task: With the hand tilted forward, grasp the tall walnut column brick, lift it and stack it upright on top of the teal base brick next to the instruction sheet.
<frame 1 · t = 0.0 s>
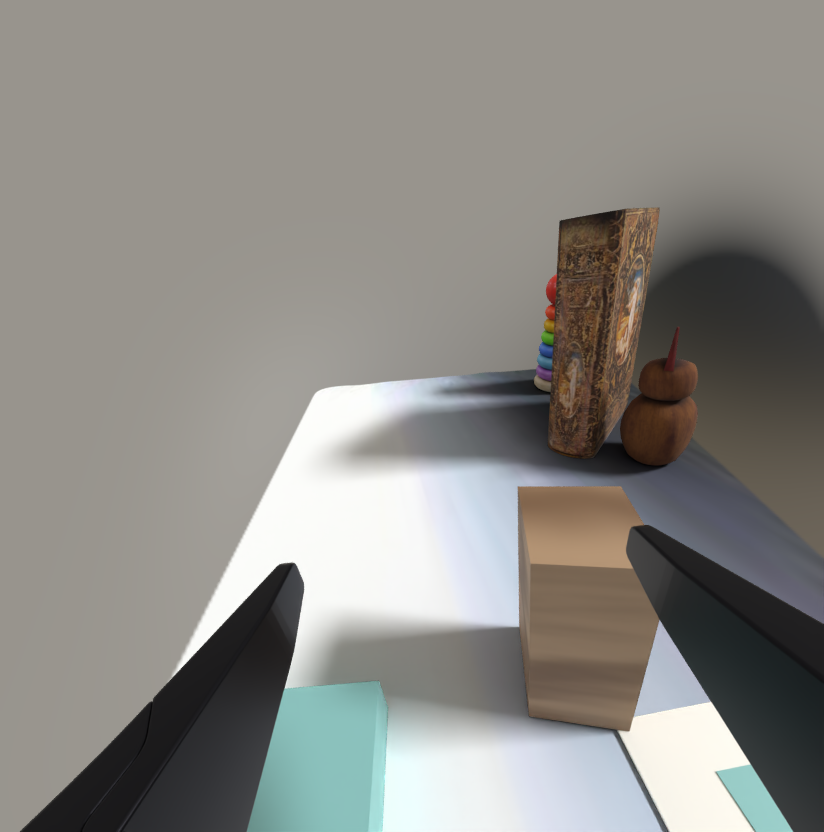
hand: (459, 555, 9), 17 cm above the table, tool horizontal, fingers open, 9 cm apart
book: (588, 427, 44), on the table
base brick: (303, 814, 16), on the table
wooden figurine: (650, 457, 37), on the table
column brick: (566, 671, 20), on the table, touching instruction sheet
stacking toy: (557, 386, 58), on the table
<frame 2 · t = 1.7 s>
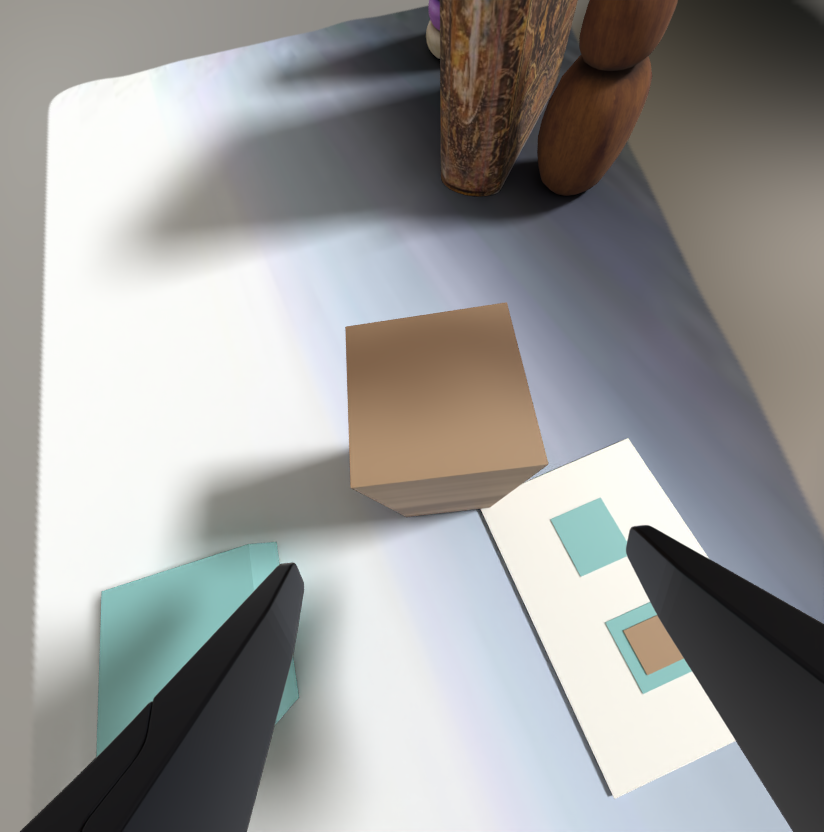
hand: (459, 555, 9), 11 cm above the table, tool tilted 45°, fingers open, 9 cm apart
book: (498, 135, 30), on the table
base brick: (219, 635, 18), on the table
wooden figurine: (567, 182, 28), on the table
column brick: (442, 470, 20), on the table, touching instruction sheet
instruction sheet: (620, 591, 17), on the table
stacking toy: (463, 47, 35), on the table
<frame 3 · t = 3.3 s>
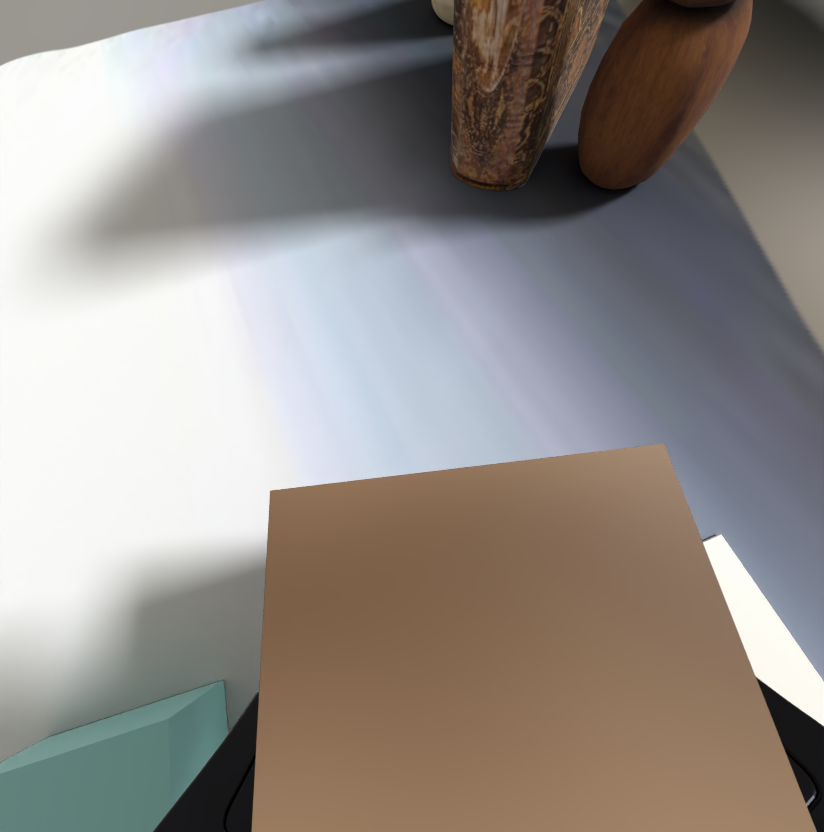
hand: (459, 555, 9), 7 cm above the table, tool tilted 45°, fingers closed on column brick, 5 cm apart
book: (521, 114, 24), on the table
base brick: (135, 831, 13), on the table
wooden figurine: (613, 172, 22), on the table
column brick: (457, 577, 14), on the table, touching gripper, instruction sheet
instruction sheet: (728, 783, 12), on the table
stacking toy: (475, 10, 29), on the table
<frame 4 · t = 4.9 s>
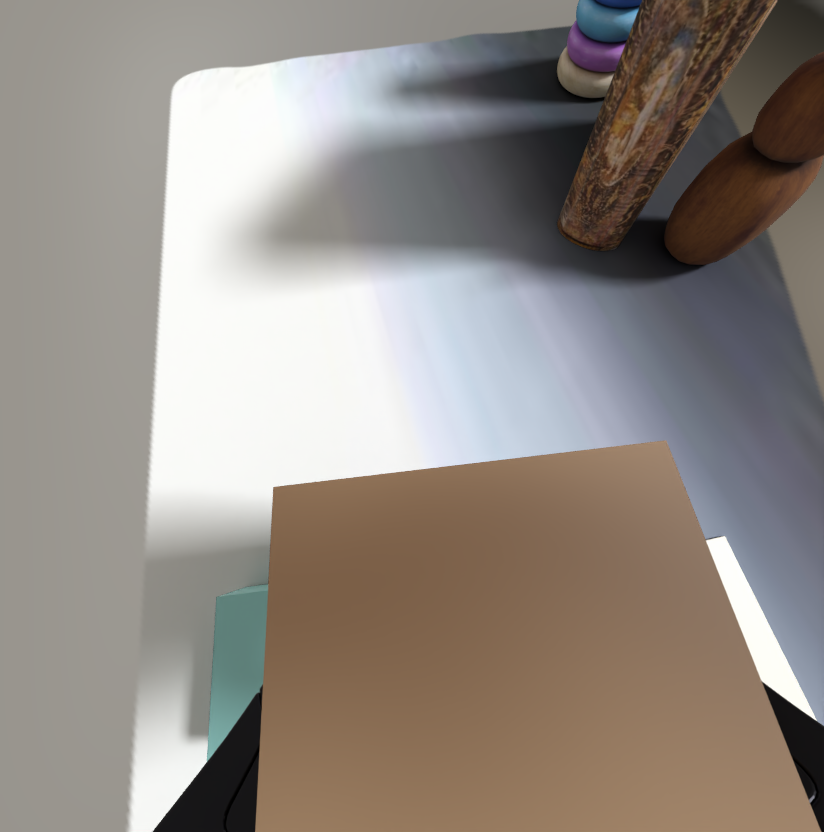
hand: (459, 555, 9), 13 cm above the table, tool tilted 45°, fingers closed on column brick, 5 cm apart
book: (621, 185, 29), on the table
base brick: (306, 650, 20), on the table
wooden figurine: (690, 248, 27), on the table
column brick: (458, 575, 14), point 7 cm above the table, touching gripper
instruction sheet: (698, 689, 18), on the table
stacking toy: (593, 80, 34), on the table
when the fingers open (10 cm above the table, at t = 6.6 s): column brick stays where it is, resting on base brick.
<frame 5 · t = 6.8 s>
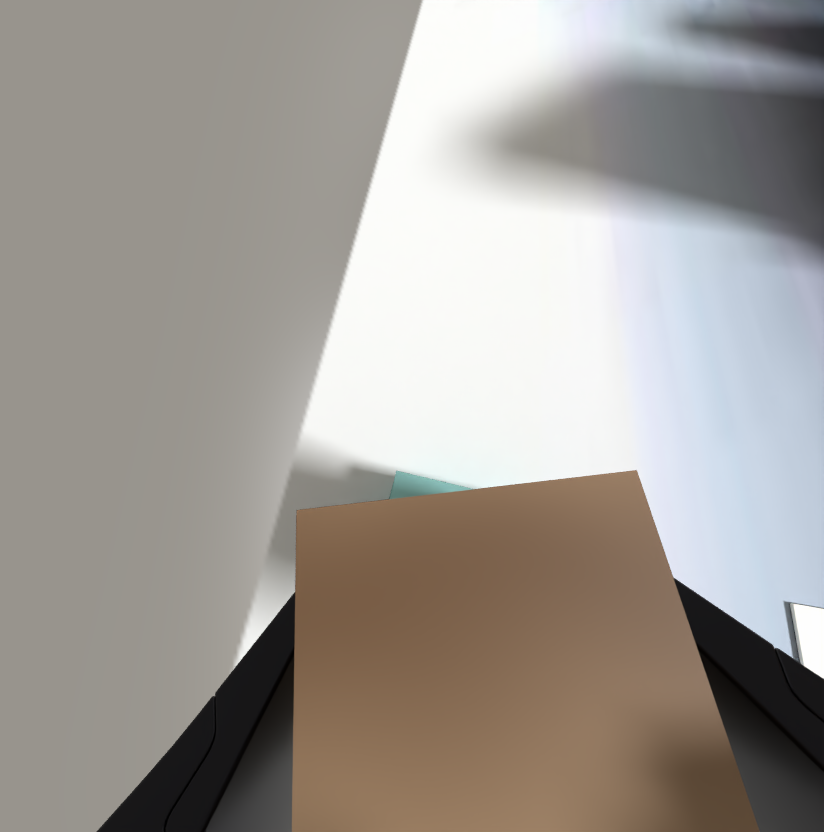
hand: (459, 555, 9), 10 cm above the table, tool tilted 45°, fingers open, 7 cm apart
base brick: (454, 565, 18), on the table
column brick: (456, 573, 15), point 3 cm above the table, touching base brick
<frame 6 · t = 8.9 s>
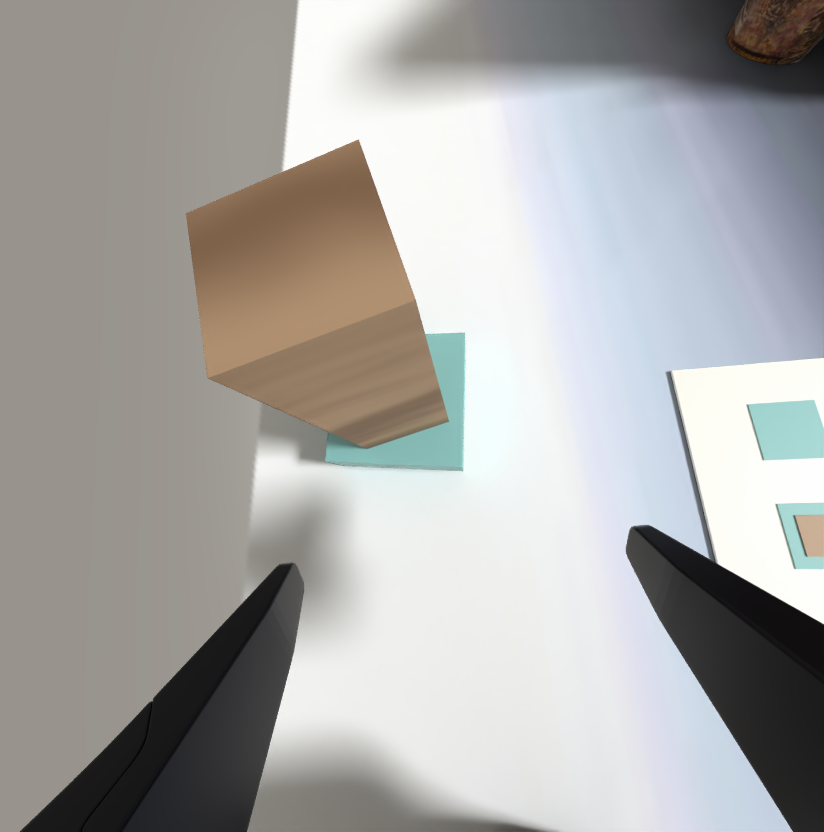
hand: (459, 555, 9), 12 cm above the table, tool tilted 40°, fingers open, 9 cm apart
base brick: (405, 409, 22), on the table
column brick: (395, 396, 19), point 3 cm above the table, touching base brick
instruction sheet: (803, 485, 17), on the table
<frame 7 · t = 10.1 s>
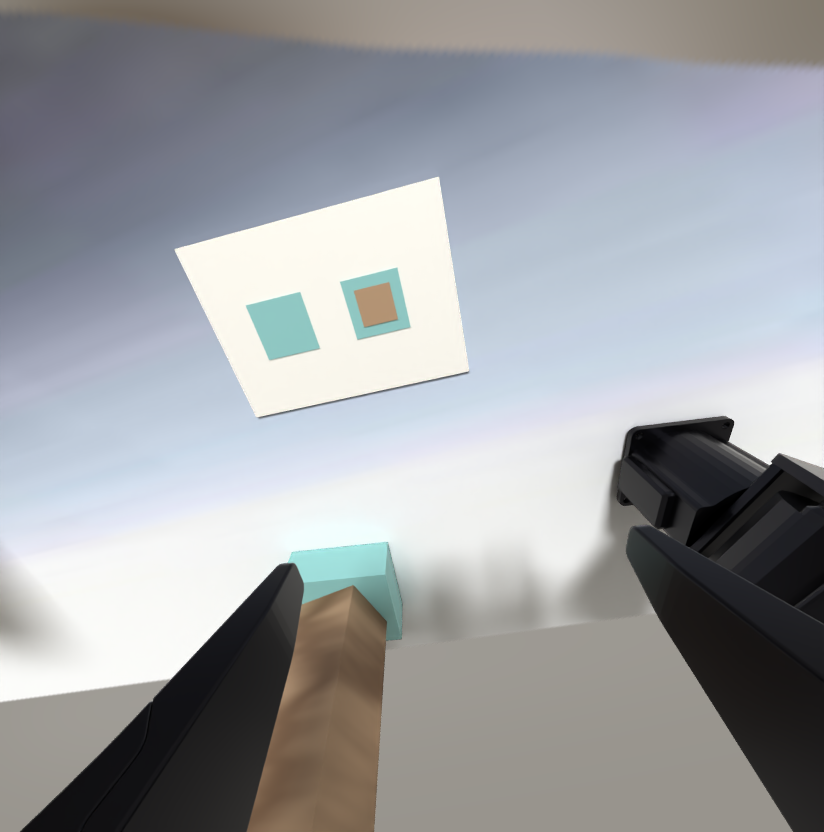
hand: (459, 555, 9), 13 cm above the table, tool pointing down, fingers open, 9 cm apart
base brick: (350, 579, 28), on the table
column brick: (343, 613, 26), point 3 cm above the table, touching base brick
instruction sheet: (334, 314, 19), on the table
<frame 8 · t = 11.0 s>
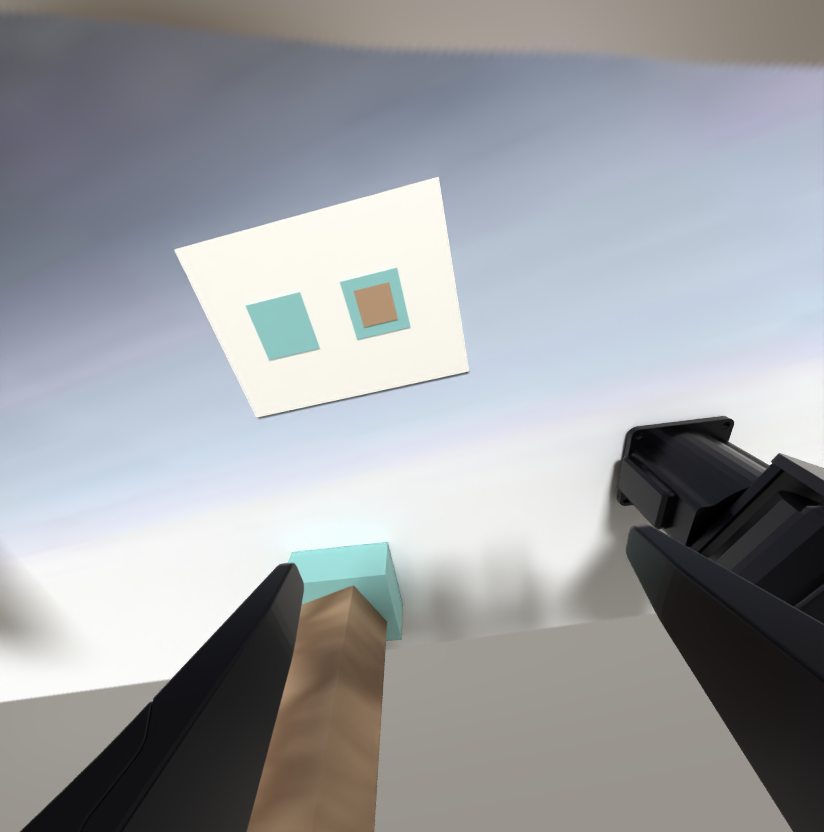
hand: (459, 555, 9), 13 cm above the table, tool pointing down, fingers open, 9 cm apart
base brick: (350, 579, 28), on the table
column brick: (343, 613, 26), point 3 cm above the table, touching base brick
instruction sheet: (334, 315, 19), on the table
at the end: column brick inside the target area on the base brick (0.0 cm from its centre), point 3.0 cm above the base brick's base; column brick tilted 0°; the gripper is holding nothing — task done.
